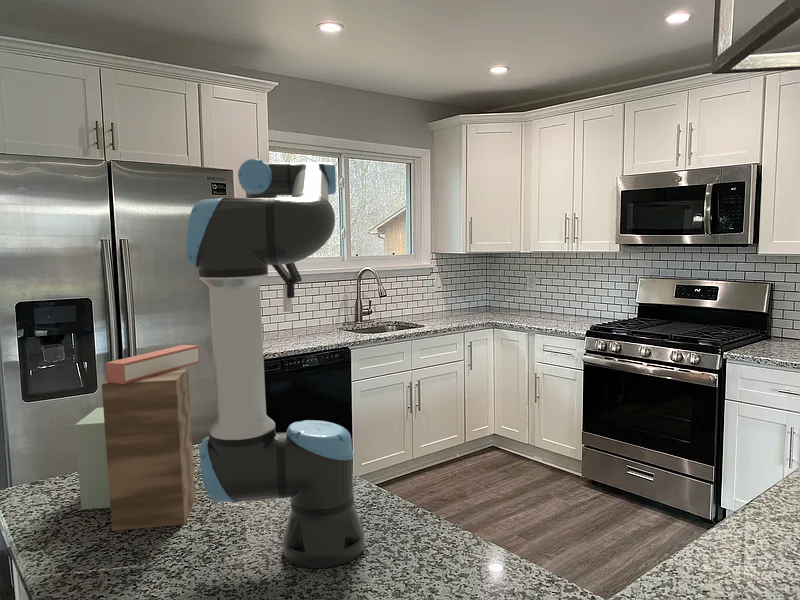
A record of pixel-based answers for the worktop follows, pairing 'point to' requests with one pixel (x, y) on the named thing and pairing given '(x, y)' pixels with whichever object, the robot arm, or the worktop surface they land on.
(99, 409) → the sage step
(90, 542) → the worktop surface
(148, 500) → the walnut block
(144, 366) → the salmon pink bar
